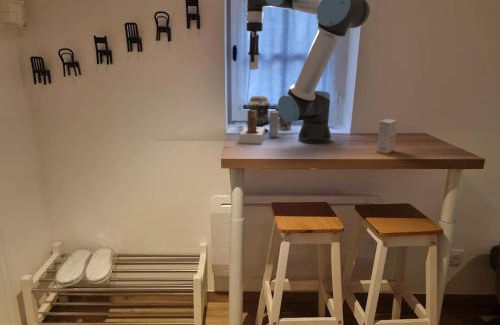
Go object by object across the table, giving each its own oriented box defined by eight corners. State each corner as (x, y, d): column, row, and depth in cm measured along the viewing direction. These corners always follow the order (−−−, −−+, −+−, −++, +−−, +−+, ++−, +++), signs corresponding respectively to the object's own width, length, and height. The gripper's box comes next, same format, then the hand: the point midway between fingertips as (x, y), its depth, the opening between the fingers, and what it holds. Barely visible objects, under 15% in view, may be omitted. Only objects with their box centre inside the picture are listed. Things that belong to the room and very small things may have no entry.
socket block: (264, 134, 184) (265, 126, 183) (261, 143, 165) (261, 134, 164) (245, 134, 185) (245, 126, 184) (239, 142, 166) (239, 134, 165)
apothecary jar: (259, 128, 202) (260, 94, 197) (274, 131, 193) (275, 96, 188) (242, 130, 195) (242, 96, 190) (257, 134, 186) (258, 98, 181)
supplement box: (383, 149, 157) (386, 118, 154) (394, 150, 154) (398, 119, 151) (375, 152, 151) (379, 120, 148) (387, 154, 148) (391, 122, 145)
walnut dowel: (256, 140, 172) (256, 110, 168) (255, 142, 168) (256, 111, 164) (247, 139, 172) (248, 109, 168) (246, 141, 168) (247, 111, 165)
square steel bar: (277, 135, 182) (278, 111, 179) (277, 137, 178) (278, 112, 175) (269, 135, 183) (270, 111, 179) (269, 137, 179) (269, 112, 176)
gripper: (249, 24, 183) (249, 68, 189) (243, 19, 160) (242, 69, 165) (264, 24, 183) (263, 68, 188) (260, 19, 159) (259, 70, 165)
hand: (254, 69), depth 177 cm, fingers open, 13 cm apart
